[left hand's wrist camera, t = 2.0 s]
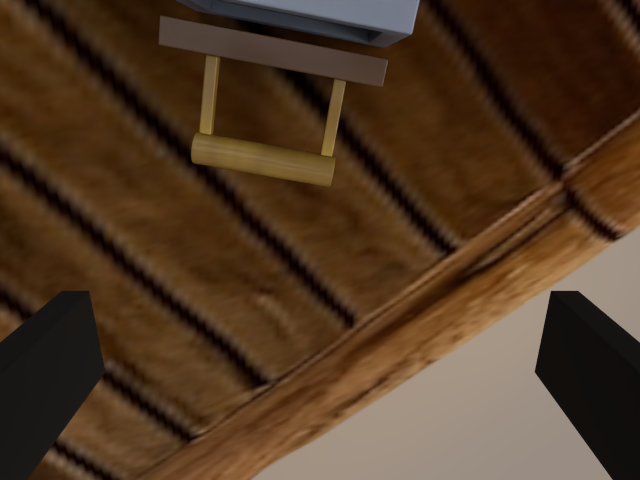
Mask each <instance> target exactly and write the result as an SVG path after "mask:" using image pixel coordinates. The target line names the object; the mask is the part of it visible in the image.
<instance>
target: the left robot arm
mask: <svg viewBox="0 0 640 480" xmlns="http://www.w3.org/2000/svg"><path fill="white" fill-rule="evenodd" d="M104 373H105V368H104V363H103V358H102V353H101V348H100V344H99V339H98V334H97V329H96V324H95V319H94V314H93V309H92V304H91V299H90V294H89V291H61V292H60V293H59V294H58V295H57V296H55V297H54V298H53V299H52V300H51V301H49V302H48V303H47V304H46V305H45V306H43V307H42V308H41V309H40V310H39V311H37V312H36V313H35V314H34V315H33V316H31V317H30V318H29V319H28V320H27V321H25V322H24V323H23V324H22V325H21V326H19V327H18V328H17V329H16V330H15V331H14V332H12V333H11V334H10V335H9V336H8V337H6V338H5V339H4V340H3V341H2V342H0V480H27V479H28V478H29V477H30V475H31V474H32V472H33V471H34V470H35V468H36V467H37V466H38V464H39V463H40V461H41V460H42V459H43V457H44V456H45V455H46V453H47V452H48V450H49V449H50V448H51V446H52V445H53V443H54V442H55V441H56V439H57V438H58V437H59V435H60V434H61V432H62V431H63V430H64V428H65V427H66V426H67V424H68V423H69V421H70V420H71V419H72V417H73V416H74V414H75V413H76V412H77V410H78V409H79V408H80V406H81V405H82V403H83V402H84V401H85V399H86V398H87V396H88V395H89V394H90V392H91V391H92V390H93V388H94V387H95V385H96V384H97V383H98V381H99V380H100V379H101V377H102V376H103V374H104ZM535 373H536V374H537V376H538V377H539V378H540V380H541V381H542V383H543V384H544V385H545V387H546V388H547V390H548V391H549V392H550V394H551V395H552V396H553V398H554V399H555V401H556V402H557V403H558V405H559V406H560V408H561V409H562V410H563V412H564V413H565V414H566V416H567V417H568V418H569V420H570V421H571V423H572V424H573V426H574V427H575V428H576V430H577V431H578V432H579V434H580V435H581V437H582V438H583V439H584V441H585V442H586V443H587V445H588V446H589V448H590V449H591V450H592V452H593V453H594V455H595V456H596V457H597V459H598V460H599V461H600V463H601V464H602V466H603V467H604V468H605V470H606V471H607V472H608V474H609V475H610V477H611V478H612V479H613V480H640V342H638V341H637V340H636V339H635V338H634V337H632V336H631V335H630V334H629V333H628V332H626V331H625V330H624V329H623V328H622V327H620V326H619V325H618V324H617V323H616V322H615V321H613V320H612V319H611V318H610V317H609V316H607V315H606V314H605V313H604V312H603V311H601V310H600V309H599V308H598V307H597V306H595V305H594V304H593V303H592V302H591V301H589V300H588V299H587V298H586V297H585V296H583V295H582V294H581V293H580V292H579V291H551V294H550V299H549V304H548V309H547V314H546V319H545V324H544V329H543V334H542V339H541V344H540V349H539V354H538V359H537V364H536V368H535Z"/></svg>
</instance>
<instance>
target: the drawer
mask: <svg viewBox="0 0 640 480" xmlns="http://www.w3.org/2000/svg"><path fill="white" fill-rule="evenodd" d="M219 1H221V2H226V3H232V2H227V1H222V0H219ZM232 4H237V3H232ZM237 5H242V6H247V7H252V8H257V9H262V10H267V11H272V12H277V13H282V14H287V15H293V14H288V13H283V12H278V11H273V10H268V9H263V8H258V7H253V6H248V5H243V4H237ZM293 16H298V15H293ZM298 17H303V16H298ZM303 18H308V19H313V20H318V21H323V22H328V23H333V24H338V25H343V26H348V27H354V26H349V25H344V24H339V23H334V22H329V21H324V20H319V19H314V18H309V17H303ZM354 28H359V27H354ZM359 29H362V28H359ZM158 44H159V45H161V46H166V47H171V48H176V49H182V50H187V51H192V52H197V53H203V54H207V55H206V57H205V69H204V81H203V93H202V106H201V118H200V130H199V132H196V134H195V135H194V138H193V142H192V147H191V159H192V162H193V163H196V164H202V165H207V166H213V167H219V168H224V169H230V170H236V171H241V172H247V173H253V174H258V175H264V176H270V177H276V178H281V179H287V180H293V181H298V182H304V183H310V184H315V185H321V186H327V187H330V186H331V182H332V178H333V172H334V166H335V157H334V156H332V154H333V149H334V143H335V138H336V133H337V127H338V122H339V116H340V111H341V106H342V100H343V95H344V90H345V84H346V81H350V82H355V83H361V84H366V85H371V86H377V87H383V83H384V78H385V73H386V69H387V64H388V59H385V58H380V57H375V56H370V55H364V54H359V53H354V52H349V51H344V50H339V49H333V48H328V47H323V46H318V45H313V44H308V43H302V42H297V41H292V40H287V39H282V38H277V37H271V36H266V35H261V34H256V33H251V32H246V31H240V30H235V29H230V28H225V27H220V26H215V25H209V24H204V23H199V22H194V21H189V20H184V19H178V18H173V17H168V16H163V15H160V21H159V42H158ZM220 57H224V58H229V59H234V60H239V61H245V62H250V63H255V64H261V65H266V66H271V67H276V68H282V69H287V70H292V71H297V72H303V73H308V74H313V75H318V76H324V77H329V78H334V81H333V86H332V92H331V98H330V103H329V109H328V115H327V120H326V126H325V131H324V137H323V143H322V148H321V154H318V153H312V152H307V151H301V150H295V149H290V148H284V147H279V146H273V145H268V144H262V143H257V142H251V141H245V140H240V139H234V138H229V137H223V136H218V135H212V134H213V128H214V118H215V107H216V96H217V85H218V75H219V64H220Z"/></svg>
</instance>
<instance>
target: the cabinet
mask: <svg viewBox="0 0 640 480" xmlns="http://www.w3.org/2000/svg"><path fill="white" fill-rule="evenodd" d="M176 1H178V2H180V3H182V4H184V5H186V6H187V7H189V8H191V9H193V10H195V11H198V12H203V13H208V14H213V15H218V16H224V17H229V18H234V19H239V20H244V21H249V22H254V23H259V24H265V25H270V26H275V27H280V28H285V29H290V30H295V31H300V32H306V33H311V34H316V35H321V36H326V37H331V38H336V39H342V40H347V41H352V42H357V43H362V44H367V45H372V46H377V47H383V48H384V47H386V46H388V45H390V44H392V43H394V42H397V41H399V40H401V39H403V38H405V37H407V36H409V35H411V34H412V32H413V27H414V23H415V19H416V14H417V10H418V5H419V1H420V0H222V1H227V2H232V3H237V4H243V5H248V6H253V7H258V8H263V9H268V10H273V11H278V12H283V13H288V14H293V15H298V16H303V17H309V18H314V19H319V20H324V21H329V22H334V23H339V24H344V25H349V26H354V27H359V28H362V29H359V28H354V27H348V26H343V25H338V24H333V23H328V22H323V21H318V20H313V19H308V18H303V17H298V16H293V15H287V14H282V13H277V12H272V11H267V10H262V9H257V8H252V7H247V6H242V5H237V4H232V3H226V2H221V1H219V0H176Z"/></svg>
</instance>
